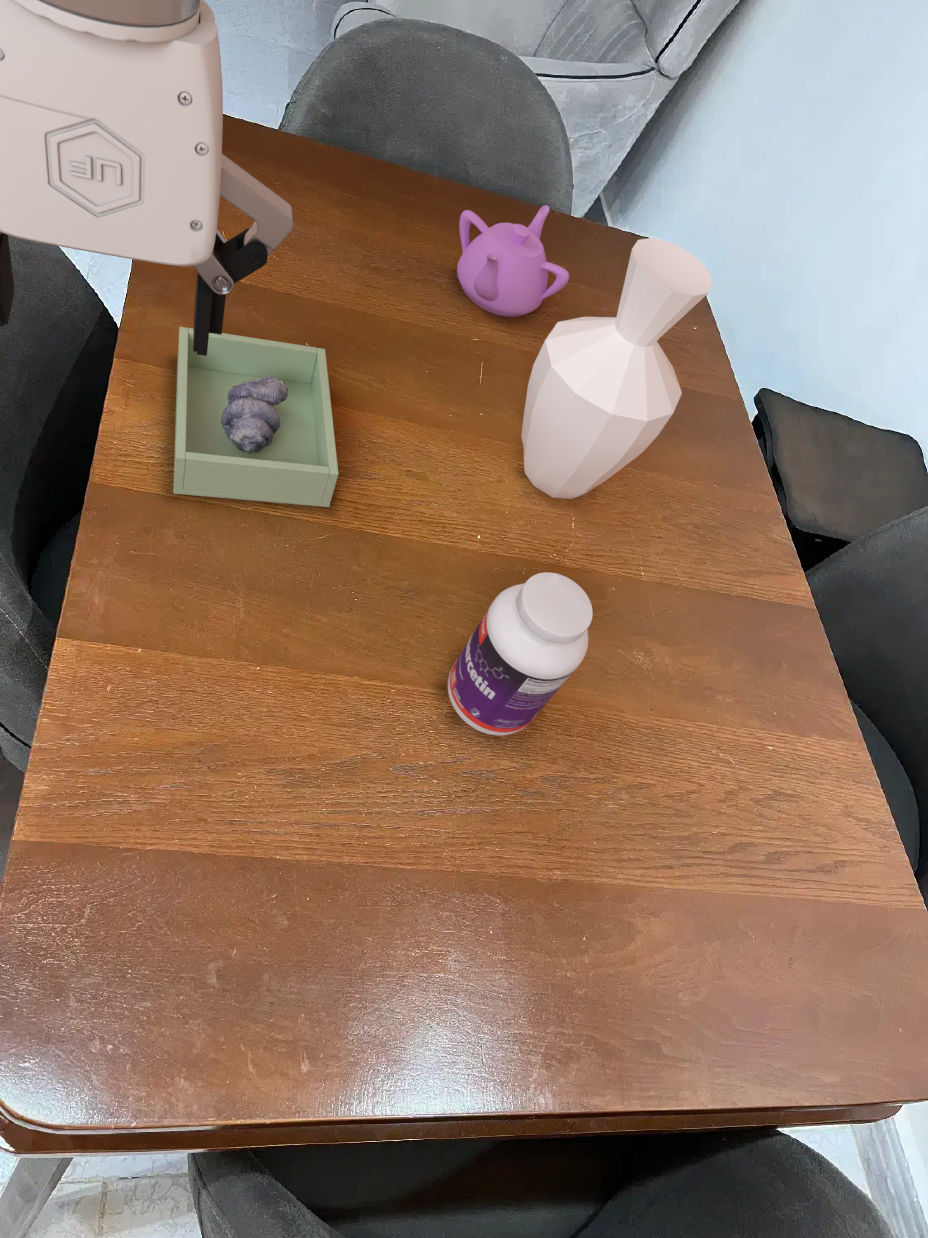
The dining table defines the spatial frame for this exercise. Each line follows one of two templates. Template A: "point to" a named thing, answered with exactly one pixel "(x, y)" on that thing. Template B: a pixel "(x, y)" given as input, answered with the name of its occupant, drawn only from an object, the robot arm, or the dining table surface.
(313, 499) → the box
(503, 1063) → the dining table surface
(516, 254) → the teapot
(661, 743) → the dining table surface
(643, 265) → the vase
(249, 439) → the seashell
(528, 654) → the pill bottle
